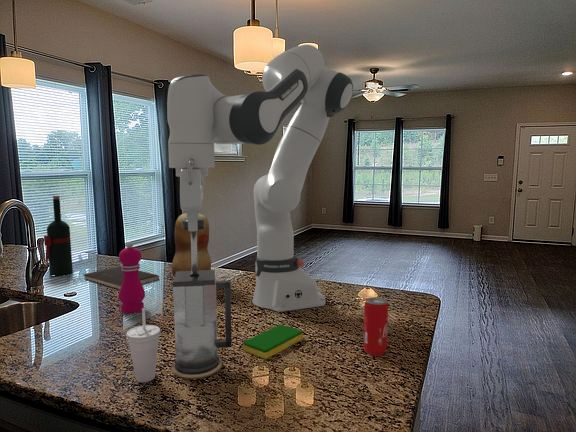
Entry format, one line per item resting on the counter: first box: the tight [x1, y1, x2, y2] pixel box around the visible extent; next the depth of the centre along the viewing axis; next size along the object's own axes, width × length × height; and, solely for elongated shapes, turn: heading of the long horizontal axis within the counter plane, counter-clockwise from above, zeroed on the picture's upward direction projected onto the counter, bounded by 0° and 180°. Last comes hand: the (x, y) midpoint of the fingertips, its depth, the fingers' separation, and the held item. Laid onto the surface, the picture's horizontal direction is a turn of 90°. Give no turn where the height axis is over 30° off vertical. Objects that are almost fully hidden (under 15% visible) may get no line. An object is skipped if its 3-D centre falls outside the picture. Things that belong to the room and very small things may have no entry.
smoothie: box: [126, 307, 162, 383], centre depth 82 cm, size 6×6×14 cm
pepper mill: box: [118, 241, 146, 315], centre depth 120 cm, size 7×7×20 cm
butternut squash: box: [171, 212, 212, 277], centre depth 147 cm, size 14×13×25 cm
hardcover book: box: [82, 265, 160, 290], centre depth 153 cm, size 16×23×2 cm
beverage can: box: [363, 296, 389, 357], centre depth 94 cm, size 5×5×12 cm
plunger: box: [182, 219, 205, 277], centre depth 85 cm, size 6×6×14 cm
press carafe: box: [171, 269, 233, 380], centre depth 87 cm, size 12×10×20 cm
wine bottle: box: [43, 195, 74, 277], centre depth 158 cm, size 8×10×30 cm
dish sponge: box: [242, 324, 303, 360], centre depth 99 cm, size 7×14×2 cm, turn 141°
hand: (193, 228), depth 84 cm, fingers closed on plunger, 4 cm apart
